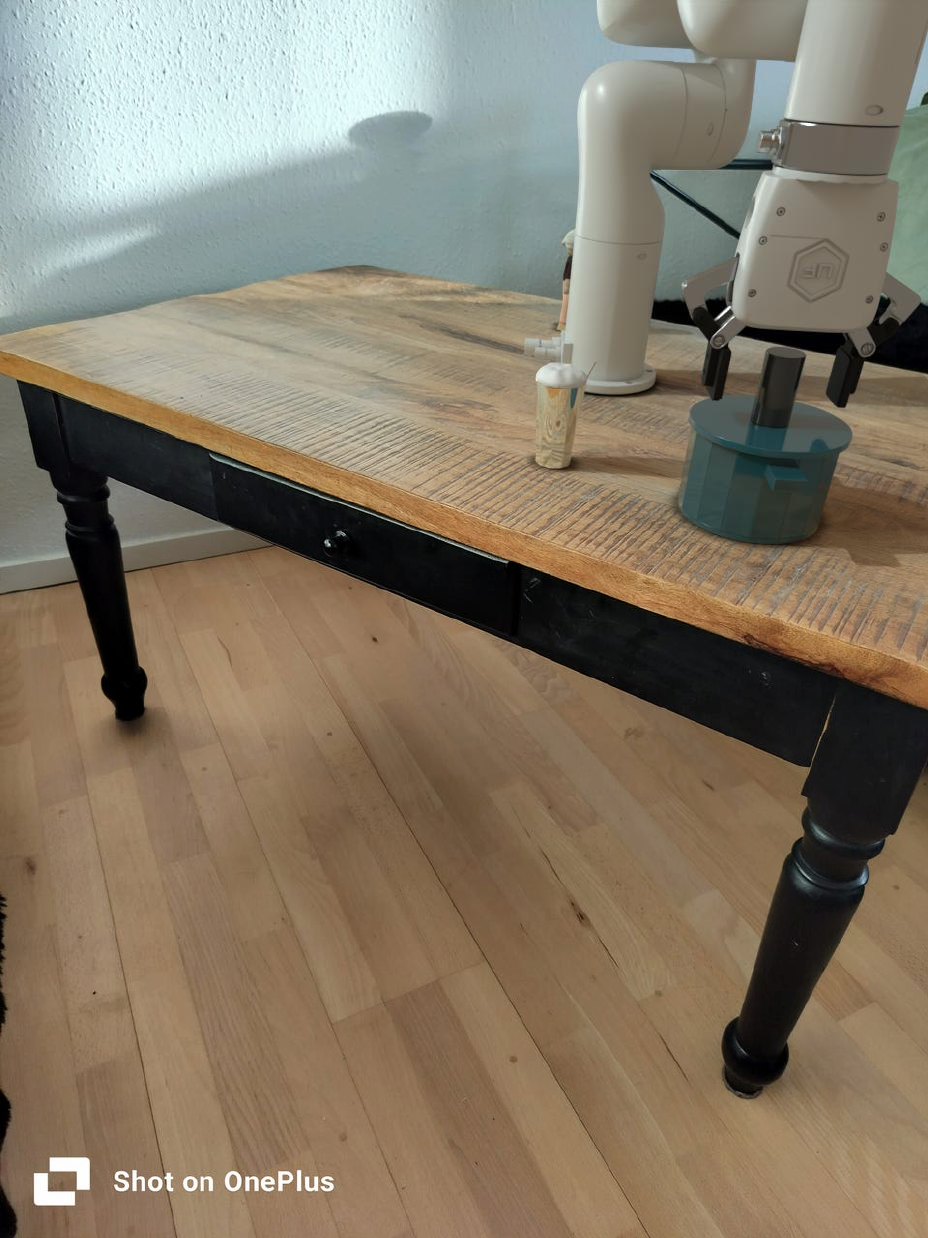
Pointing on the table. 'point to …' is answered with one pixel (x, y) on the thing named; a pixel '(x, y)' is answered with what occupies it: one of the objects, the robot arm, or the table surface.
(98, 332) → the table surface
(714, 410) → the lid
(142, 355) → the table surface
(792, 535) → the pot
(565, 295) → the grandmother figurine
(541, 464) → the milkshake
